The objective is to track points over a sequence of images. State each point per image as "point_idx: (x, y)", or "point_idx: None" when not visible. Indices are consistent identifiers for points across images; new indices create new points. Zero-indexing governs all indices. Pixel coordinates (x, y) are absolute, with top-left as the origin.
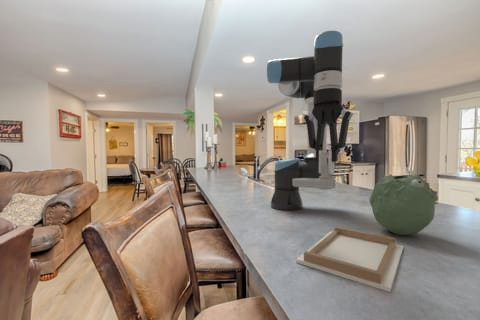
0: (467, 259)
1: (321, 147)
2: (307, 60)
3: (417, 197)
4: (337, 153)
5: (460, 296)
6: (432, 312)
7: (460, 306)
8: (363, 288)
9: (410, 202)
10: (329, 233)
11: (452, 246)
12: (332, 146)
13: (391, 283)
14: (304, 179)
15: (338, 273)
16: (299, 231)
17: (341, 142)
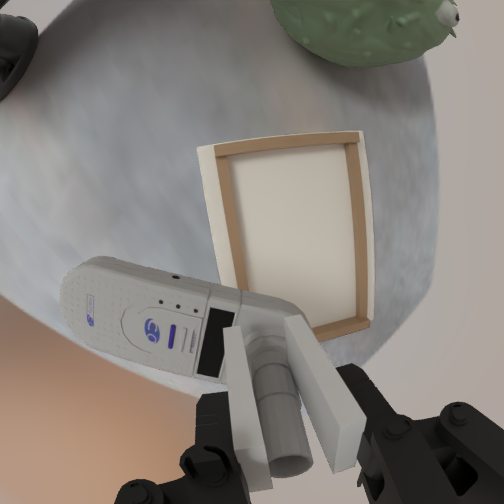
0: (428, 116)
1: (242, 492)
2: None
3: (431, 45)
4: (384, 405)
5: (426, 259)
6: (403, 318)
7: (423, 283)
8: (344, 335)
9: (410, 50)
10: (203, 168)
11: (405, 63)
12: (377, 484)
13: (373, 307)
14: (160, 368)
15: None
16: (127, 204)
17: (452, 472)
